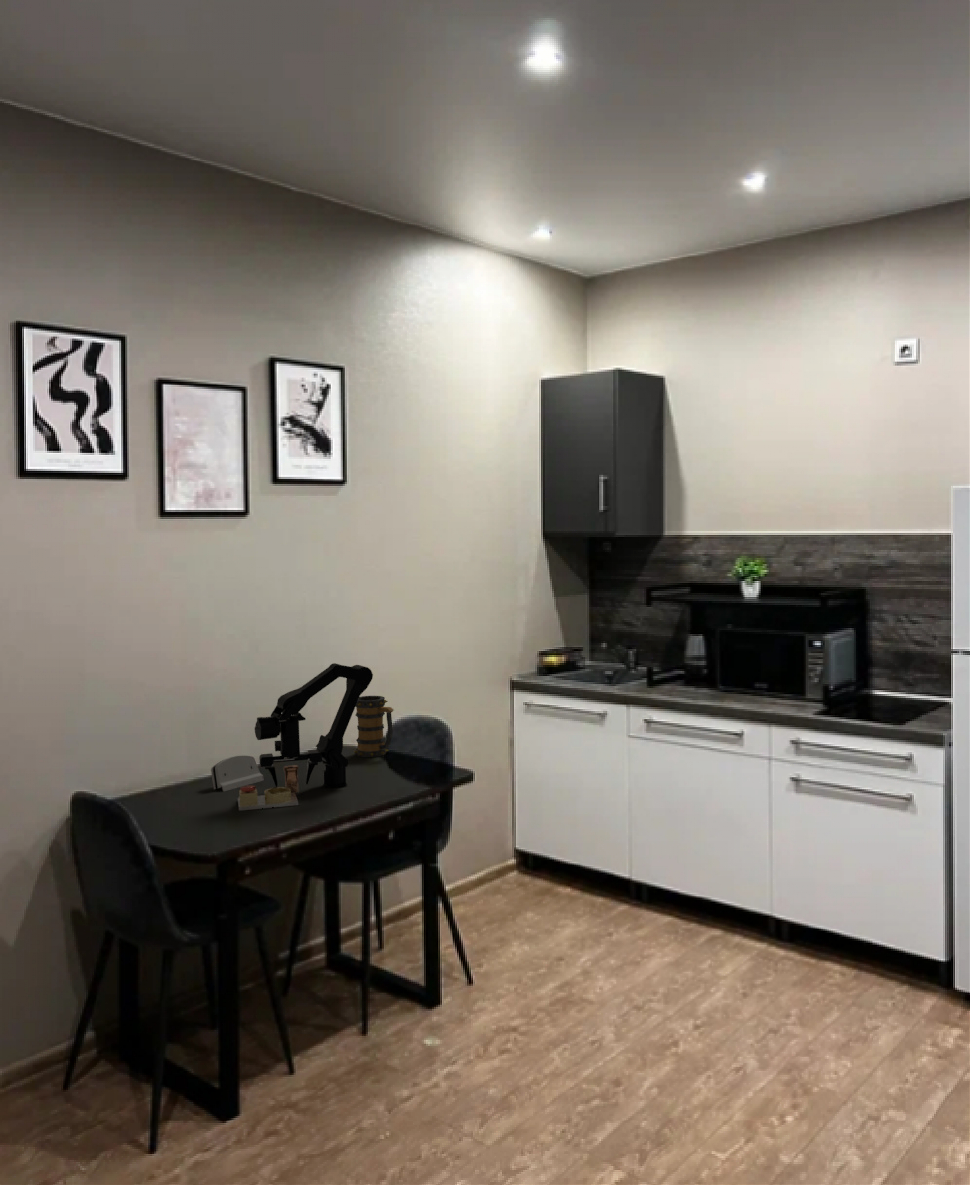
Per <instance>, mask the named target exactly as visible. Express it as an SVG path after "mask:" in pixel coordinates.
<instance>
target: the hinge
mask: <svg viewBox="0 0 970 1185" xmlns="http://www.w3.org/2000/svg"><path fill="white" fill-rule="evenodd" d="M210 772H211V779H212V786H213V790H217V789H221V790H222V792H227V791H230V790H234V789H238V788H241V787H242V786H246V785H254V784H257V783H260V782H263V781H264V780H265V779H264V774H262V773H261V772H260V769H259V766H258V764H257V761H256V759H255V757H254V756H251V755H234V756H230V757H227V758H225V759H223V760H221V761H219V762H217V763H216V764H215V765H213V766H212V767H211V769H210Z"/></svg>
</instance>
